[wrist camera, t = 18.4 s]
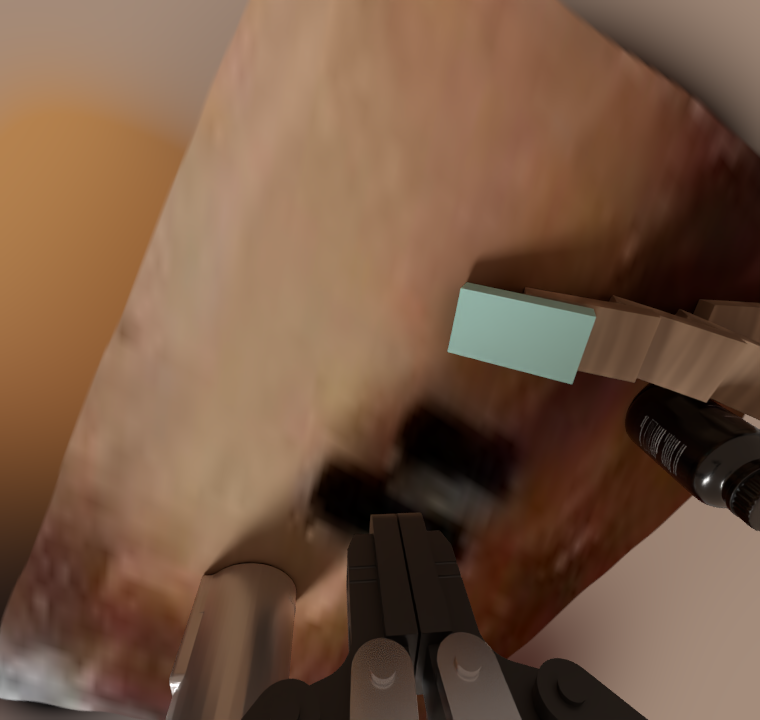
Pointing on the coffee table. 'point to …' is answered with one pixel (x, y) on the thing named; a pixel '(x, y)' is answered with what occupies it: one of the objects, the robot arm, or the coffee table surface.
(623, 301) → the domino
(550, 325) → the domino
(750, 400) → the domino
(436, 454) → the coffee table surface
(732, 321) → the domino
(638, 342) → the domino
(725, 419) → the supplement bottle
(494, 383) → the coffee table surface
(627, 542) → the coffee table surface
